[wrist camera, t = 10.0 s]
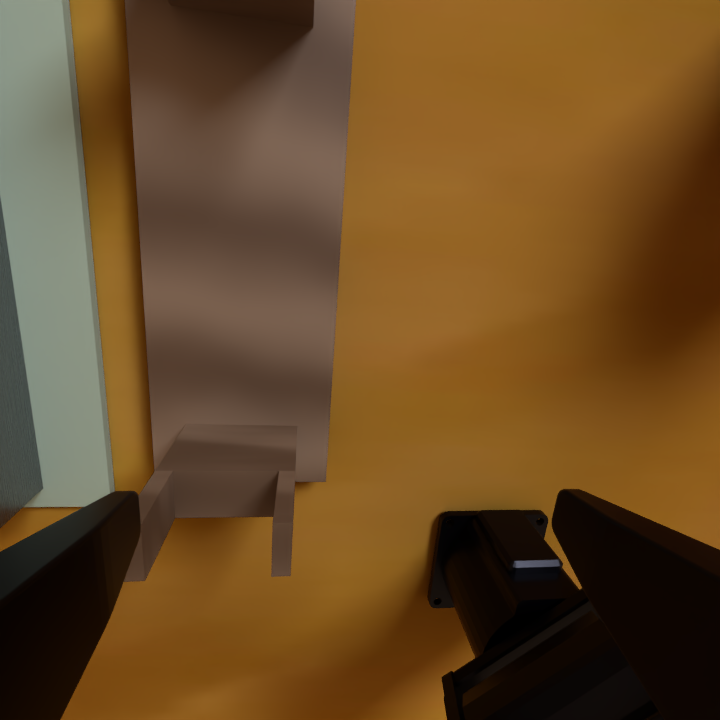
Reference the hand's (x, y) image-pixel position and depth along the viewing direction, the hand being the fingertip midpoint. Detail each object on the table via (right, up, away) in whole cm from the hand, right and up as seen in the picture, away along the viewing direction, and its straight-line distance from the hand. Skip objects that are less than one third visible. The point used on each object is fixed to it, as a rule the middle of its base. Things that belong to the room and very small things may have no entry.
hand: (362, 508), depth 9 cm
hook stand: (-5, +8, +10) cm, 14 cm away
